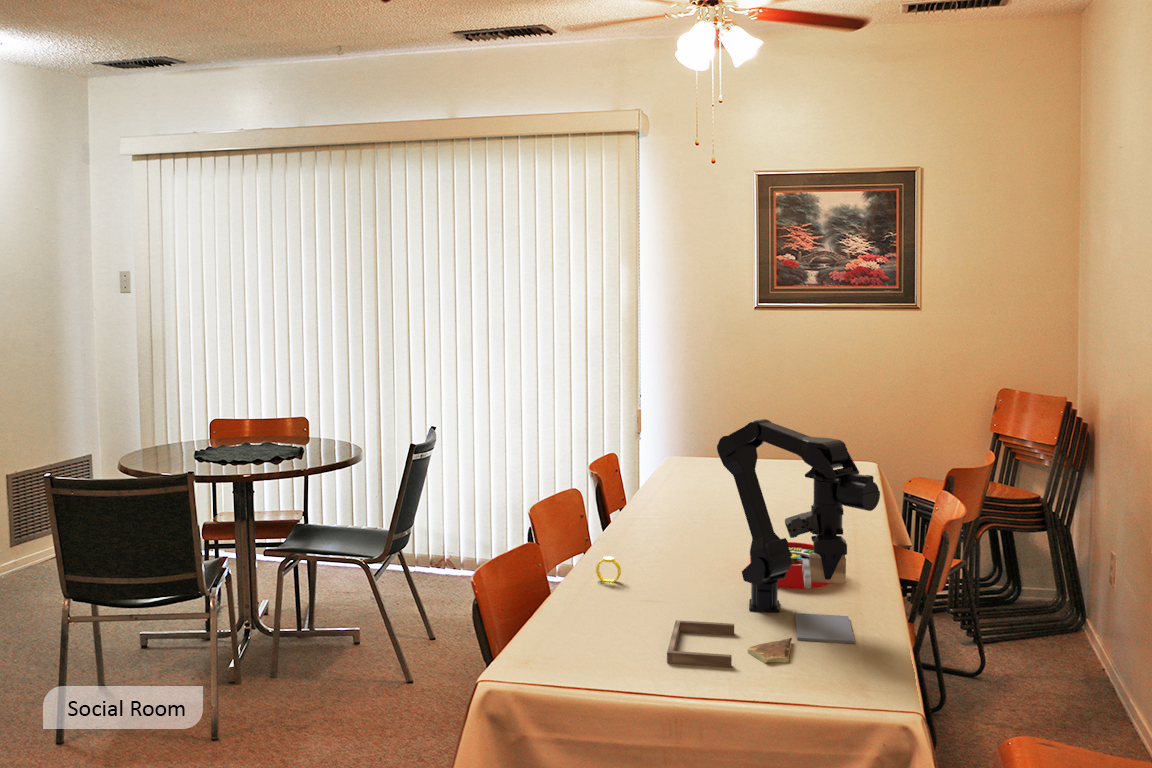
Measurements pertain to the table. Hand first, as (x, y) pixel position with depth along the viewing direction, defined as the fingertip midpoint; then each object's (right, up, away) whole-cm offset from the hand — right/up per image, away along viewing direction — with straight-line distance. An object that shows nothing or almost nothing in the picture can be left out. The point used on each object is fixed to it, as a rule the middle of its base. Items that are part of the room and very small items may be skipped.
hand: (827, 576), depth 184 cm
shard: (-14, -13, -10) cm, 22 cm away
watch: (-44, -9, +34) cm, 56 cm away
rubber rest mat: (0, -11, +1) cm, 11 cm away
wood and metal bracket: (0, -1, 0) cm, 1 cm away
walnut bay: (-27, -12, -7) cm, 30 cm away
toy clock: (+1, -8, +36) cm, 37 cm away
